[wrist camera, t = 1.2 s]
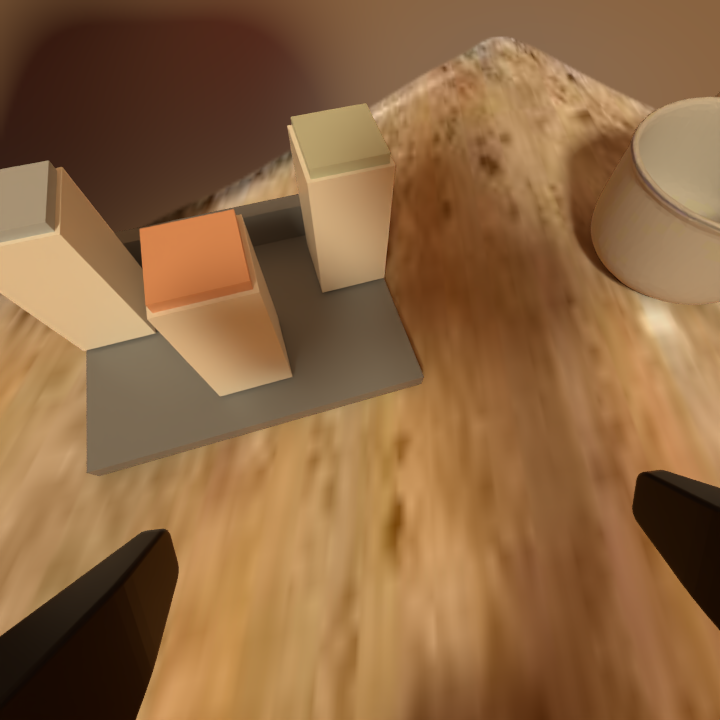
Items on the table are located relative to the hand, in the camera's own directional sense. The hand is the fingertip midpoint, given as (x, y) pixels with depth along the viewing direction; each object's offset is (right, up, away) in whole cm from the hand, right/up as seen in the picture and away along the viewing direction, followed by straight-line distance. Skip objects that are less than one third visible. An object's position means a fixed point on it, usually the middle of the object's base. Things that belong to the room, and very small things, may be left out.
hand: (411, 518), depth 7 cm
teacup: (+20, +11, +20) cm, 30 cm away
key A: (-15, +6, +16) cm, 23 cm away
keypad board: (-8, +5, +17) cm, 19 cm away
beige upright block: (-2, +9, +17) cm, 20 cm away
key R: (-7, +3, +15) cm, 17 cm away
